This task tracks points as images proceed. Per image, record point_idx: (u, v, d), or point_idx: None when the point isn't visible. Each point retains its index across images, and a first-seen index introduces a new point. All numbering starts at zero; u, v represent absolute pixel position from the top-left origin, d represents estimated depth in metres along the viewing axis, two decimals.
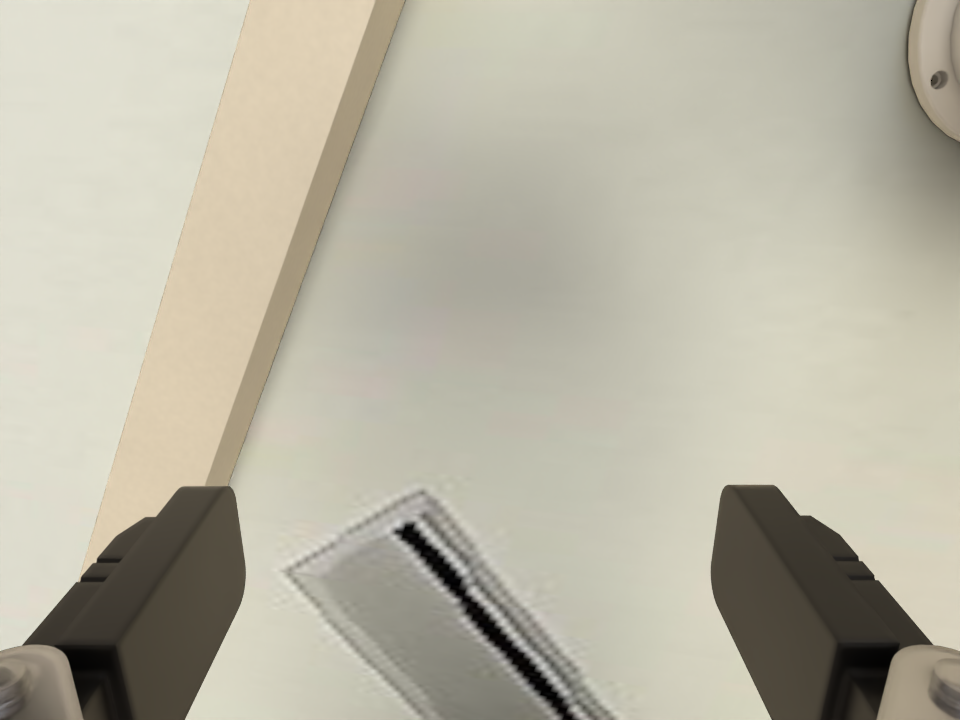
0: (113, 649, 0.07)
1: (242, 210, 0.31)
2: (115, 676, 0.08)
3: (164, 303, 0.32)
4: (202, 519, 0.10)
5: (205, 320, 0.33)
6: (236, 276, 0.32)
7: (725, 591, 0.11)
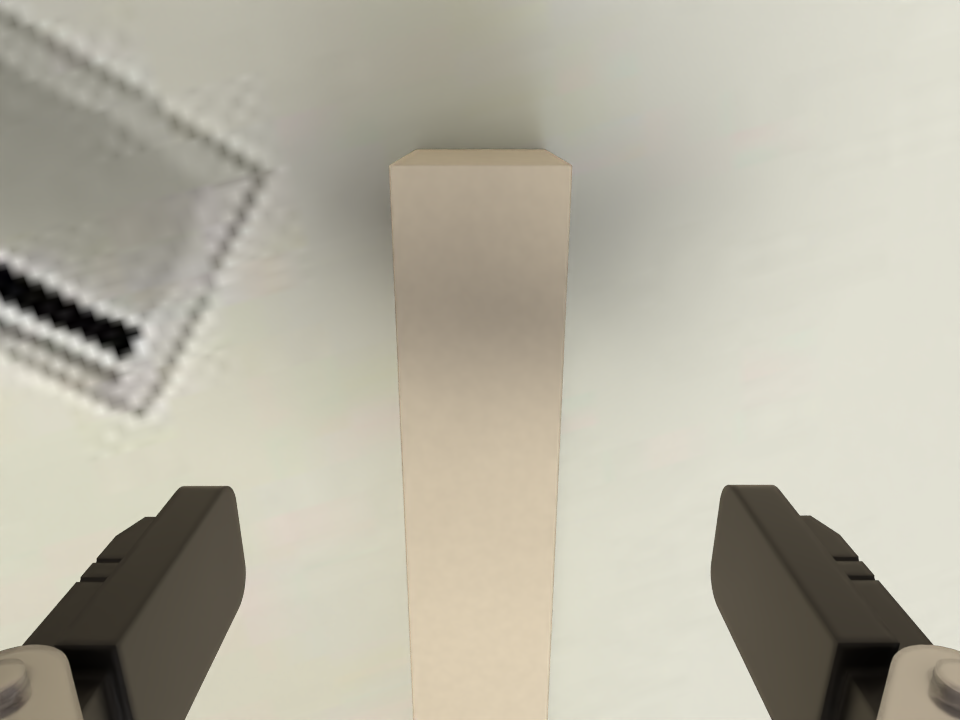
0: (113, 649, 0.07)
1: None
2: (115, 676, 0.08)
3: None
4: (202, 519, 0.10)
5: None
6: None
7: (725, 591, 0.11)
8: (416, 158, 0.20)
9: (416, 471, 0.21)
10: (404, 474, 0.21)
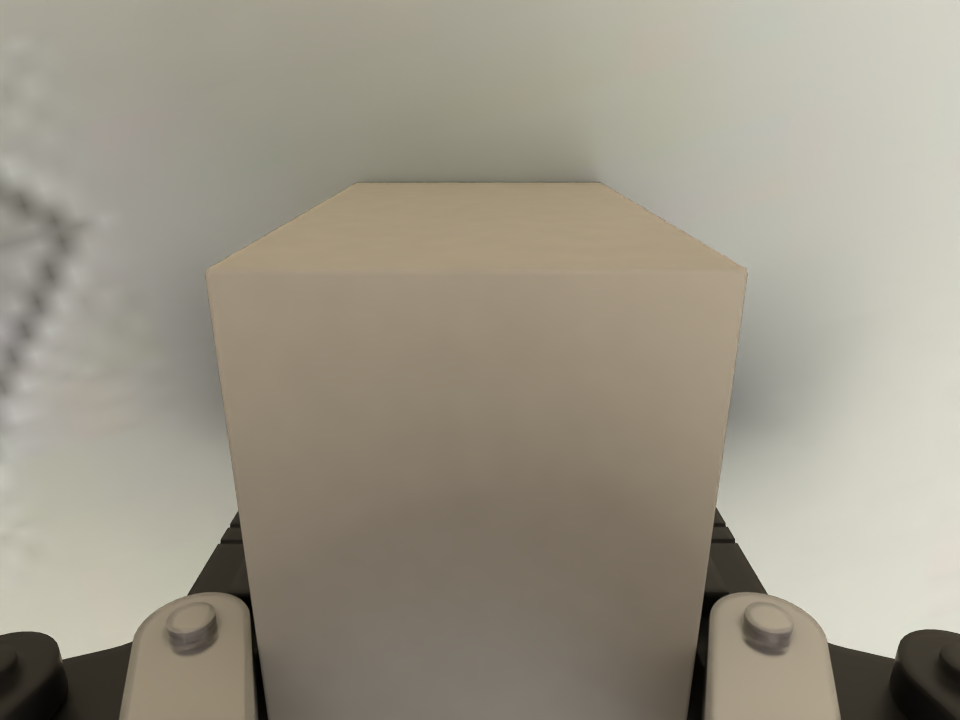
0: None
1: None
2: None
3: None
4: None
5: None
6: None
7: None
8: (320, 225, 0.08)
9: None
10: None
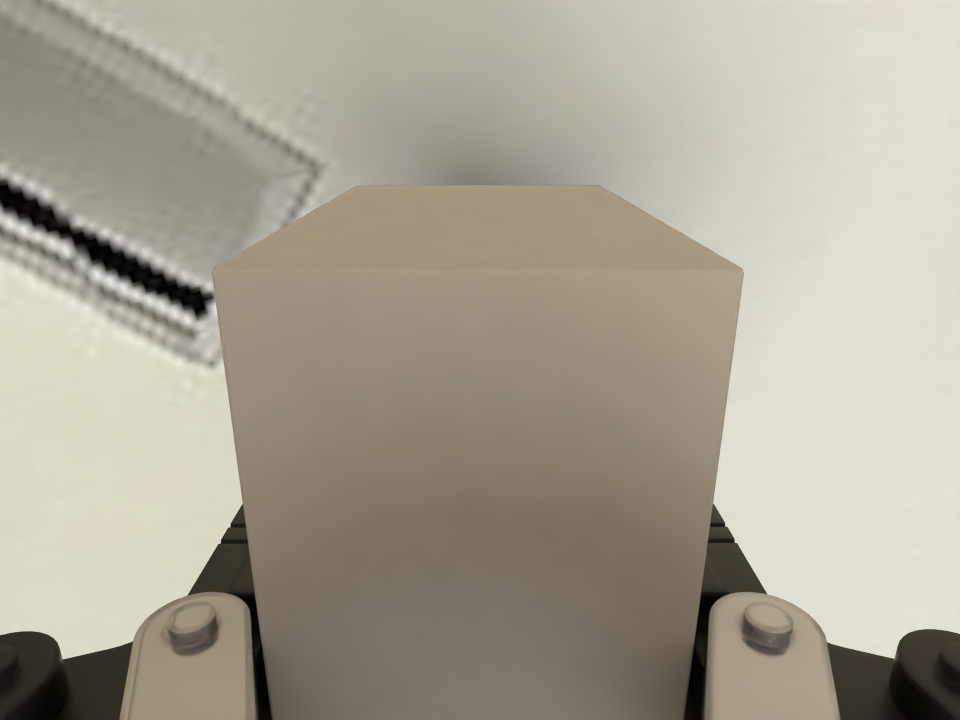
0: None
1: None
2: None
3: None
4: None
5: None
6: None
7: None
8: (324, 226, 0.08)
9: None
10: None
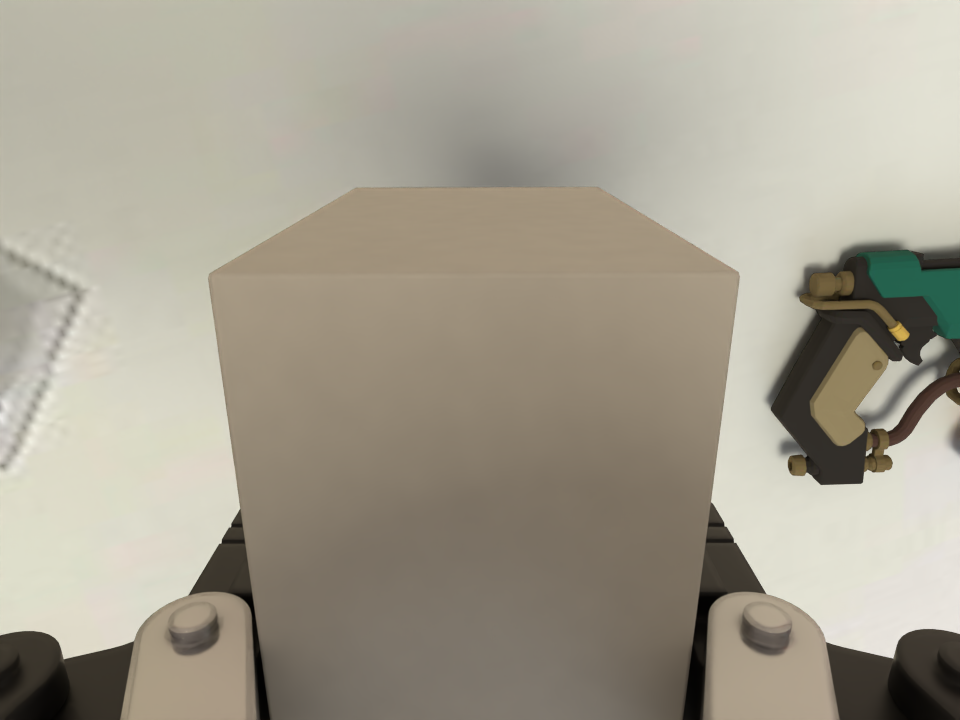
0: None
1: None
2: None
3: None
4: None
5: None
6: None
7: None
8: (321, 230, 0.08)
9: None
10: None
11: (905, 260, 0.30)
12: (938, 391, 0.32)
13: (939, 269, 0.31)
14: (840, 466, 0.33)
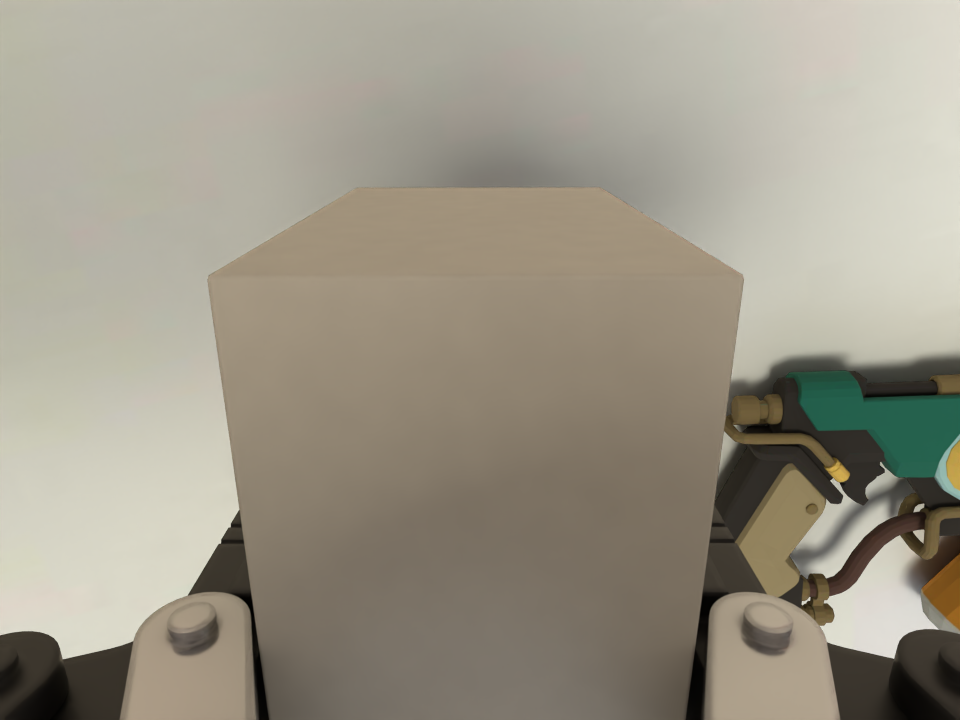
0: None
1: None
2: None
3: None
4: None
5: None
6: None
7: None
8: (321, 231, 0.08)
9: None
10: None
11: (844, 387, 0.25)
12: (887, 536, 0.27)
13: (886, 397, 0.25)
14: None
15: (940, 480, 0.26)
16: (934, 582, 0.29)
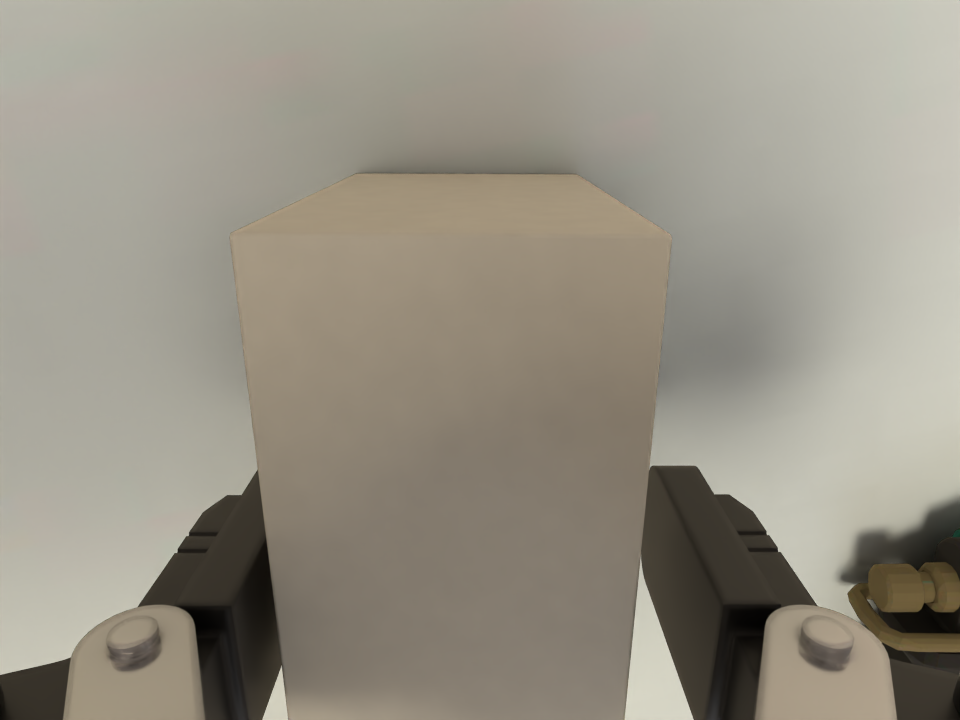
0: (228, 610, 0.08)
1: None
2: (228, 635, 0.08)
3: None
4: None
5: None
6: None
7: (651, 567, 0.11)
8: (323, 204, 0.09)
9: None
10: None
11: None
12: None
13: None
14: None
15: None
16: None
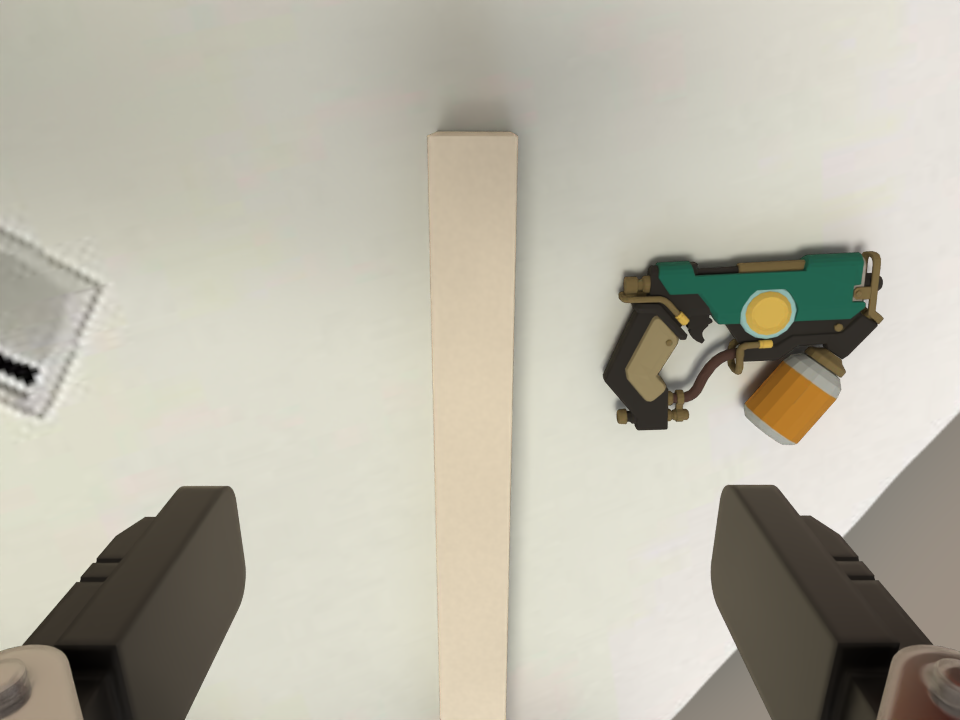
0: (113, 649, 0.07)
1: (474, 545, 0.44)
2: (115, 676, 0.08)
3: (508, 467, 0.42)
4: (202, 519, 0.10)
5: (475, 467, 0.42)
6: (463, 504, 0.43)
7: (725, 591, 0.11)
8: None
9: (438, 302, 0.38)
10: (431, 304, 0.38)
11: (683, 268, 0.43)
12: (716, 362, 0.45)
13: (708, 275, 0.43)
14: (650, 416, 0.46)
15: (743, 325, 0.44)
16: (751, 396, 0.47)
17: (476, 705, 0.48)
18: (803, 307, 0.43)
